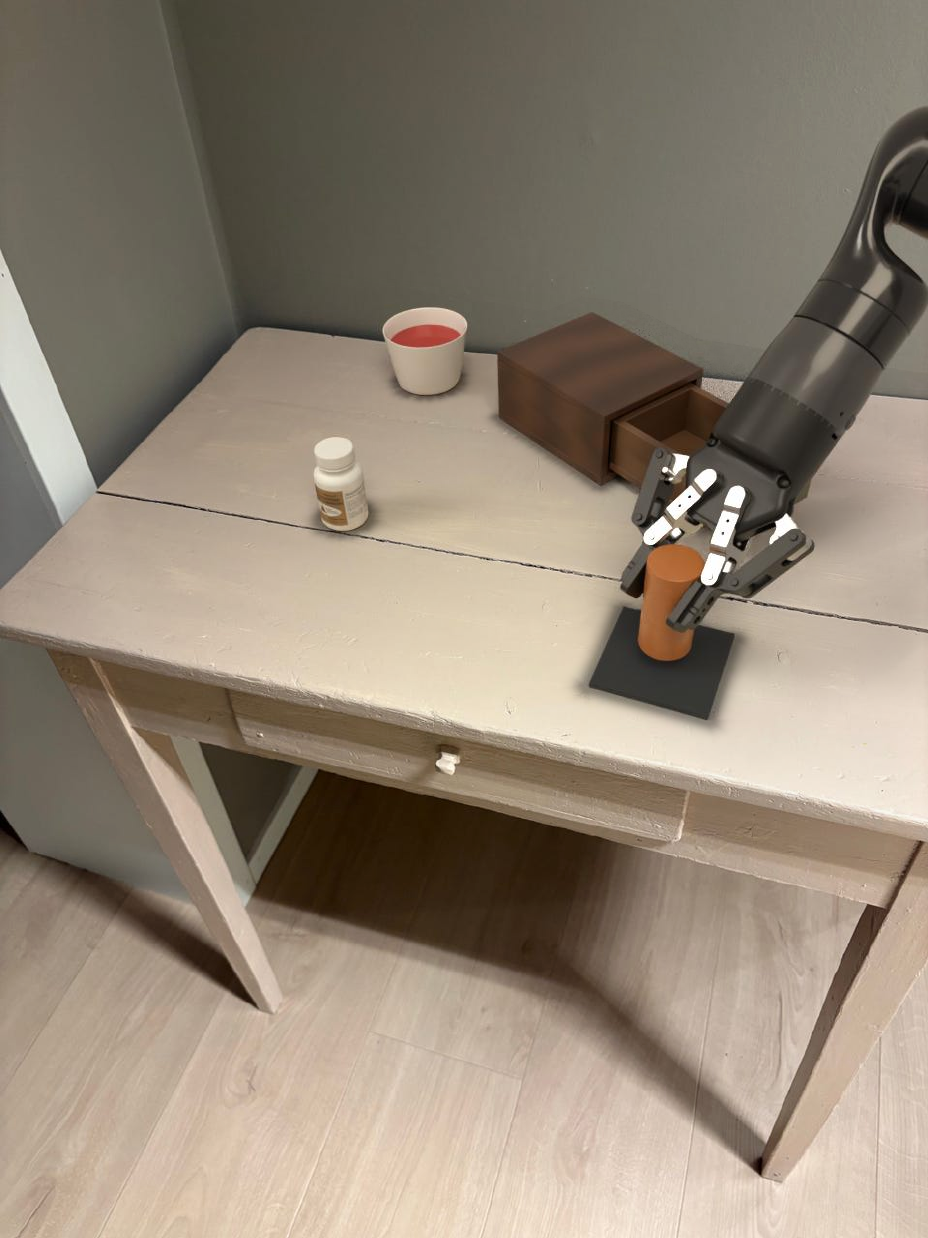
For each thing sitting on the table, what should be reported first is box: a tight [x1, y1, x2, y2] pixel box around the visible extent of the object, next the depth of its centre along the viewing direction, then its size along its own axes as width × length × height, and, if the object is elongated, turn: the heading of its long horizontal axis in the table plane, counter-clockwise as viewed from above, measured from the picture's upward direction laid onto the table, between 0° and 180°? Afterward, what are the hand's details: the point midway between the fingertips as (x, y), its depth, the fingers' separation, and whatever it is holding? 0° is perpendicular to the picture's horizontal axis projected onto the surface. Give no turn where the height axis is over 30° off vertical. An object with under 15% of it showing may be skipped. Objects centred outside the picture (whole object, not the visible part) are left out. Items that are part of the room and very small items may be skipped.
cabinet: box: [496, 311, 704, 486], centre depth 95 cm, size 16×13×8 cm
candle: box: [382, 306, 468, 396], centre depth 104 cm, size 9×9×6 cm
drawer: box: [610, 383, 812, 544], centre depth 86 cm, size 16×11×6 cm
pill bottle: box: [312, 436, 369, 532], centre depth 86 cm, size 4×4×8 cm
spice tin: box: [638, 544, 706, 661], centre depth 70 cm, size 4×4×8 cm
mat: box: [588, 605, 736, 720], centre depth 74 cm, size 9×9×1 cm
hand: (651, 610), depth 69 cm, fingers closed on spice tin, 4 cm apart
